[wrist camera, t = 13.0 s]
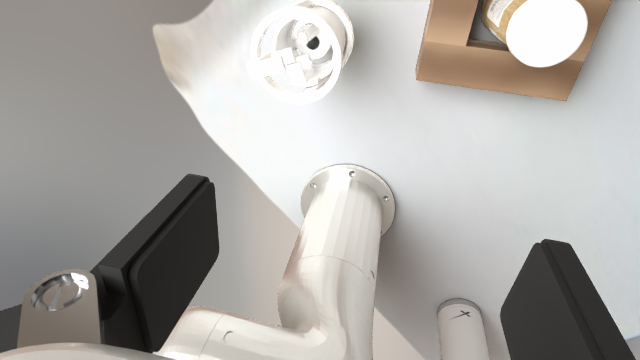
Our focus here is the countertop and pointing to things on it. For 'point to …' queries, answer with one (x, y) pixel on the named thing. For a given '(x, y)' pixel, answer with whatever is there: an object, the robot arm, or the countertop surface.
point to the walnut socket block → (494, 54)
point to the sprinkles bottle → (537, 28)
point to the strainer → (302, 49)
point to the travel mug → (461, 331)
